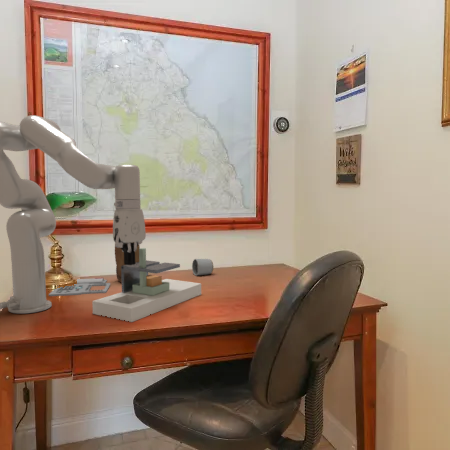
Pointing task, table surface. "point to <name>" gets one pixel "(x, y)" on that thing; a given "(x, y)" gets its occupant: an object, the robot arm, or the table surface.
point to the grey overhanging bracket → (132, 272)
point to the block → (120, 260)
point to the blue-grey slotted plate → (82, 287)
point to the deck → (145, 301)
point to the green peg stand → (142, 285)
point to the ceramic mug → (202, 267)
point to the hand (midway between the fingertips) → (129, 264)
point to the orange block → (153, 280)
